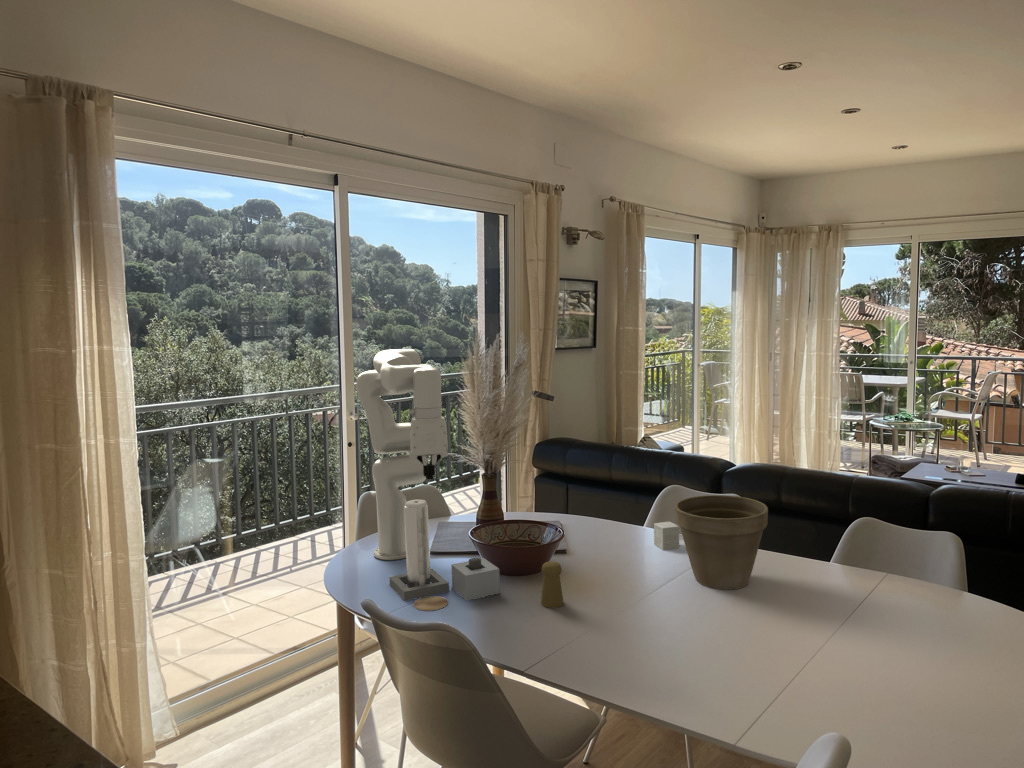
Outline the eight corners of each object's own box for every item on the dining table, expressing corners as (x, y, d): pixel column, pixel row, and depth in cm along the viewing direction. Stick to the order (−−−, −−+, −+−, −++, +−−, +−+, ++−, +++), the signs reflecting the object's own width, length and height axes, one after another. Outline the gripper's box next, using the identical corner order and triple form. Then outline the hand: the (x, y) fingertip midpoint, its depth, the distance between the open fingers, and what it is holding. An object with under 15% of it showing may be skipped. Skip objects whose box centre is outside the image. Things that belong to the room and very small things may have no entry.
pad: (409, 601, 196) (409, 600, 196) (440, 594, 200) (440, 593, 200) (420, 613, 188) (420, 612, 188) (453, 606, 192) (453, 605, 192)
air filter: (432, 584, 208) (429, 498, 205) (427, 592, 201) (424, 504, 199) (410, 583, 209) (407, 498, 206) (404, 592, 202) (401, 504, 200)
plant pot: (667, 590, 199) (667, 513, 197) (682, 561, 222) (682, 491, 219) (764, 602, 190) (765, 521, 187) (769, 570, 212) (770, 497, 210)
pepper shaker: (566, 600, 194) (565, 560, 193) (560, 609, 189) (559, 567, 187) (544, 597, 196) (543, 558, 195) (537, 606, 190) (537, 565, 189)
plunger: (467, 573, 202) (466, 559, 202) (478, 570, 204) (477, 557, 203) (472, 577, 199) (471, 562, 199) (483, 574, 201) (483, 560, 200)
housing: (452, 588, 204) (451, 564, 203) (484, 581, 209) (483, 558, 208) (466, 600, 195) (465, 575, 195) (499, 593, 200) (499, 568, 199)
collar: (389, 585, 208) (389, 576, 208) (432, 576, 214) (432, 568, 213) (404, 600, 196) (404, 591, 196) (449, 591, 202) (448, 582, 202)
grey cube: (653, 544, 238) (653, 523, 237) (670, 542, 240) (670, 521, 239) (662, 550, 232) (662, 528, 231) (679, 548, 234) (679, 526, 233)
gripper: (401, 416, 194) (403, 483, 196) (457, 413, 197) (458, 479, 200) (398, 412, 201) (400, 477, 203) (452, 409, 205) (453, 473, 207)
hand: (429, 478), depth 202 cm, fingers closed
